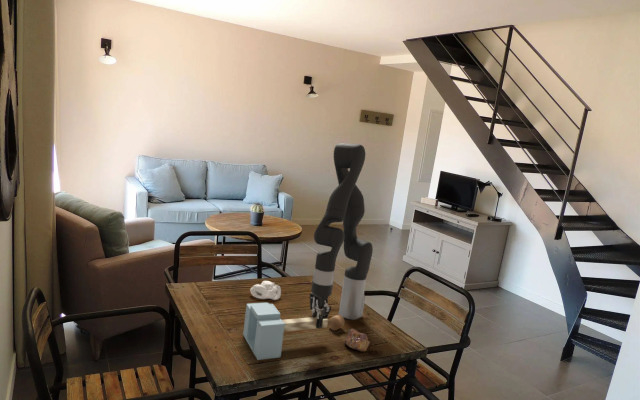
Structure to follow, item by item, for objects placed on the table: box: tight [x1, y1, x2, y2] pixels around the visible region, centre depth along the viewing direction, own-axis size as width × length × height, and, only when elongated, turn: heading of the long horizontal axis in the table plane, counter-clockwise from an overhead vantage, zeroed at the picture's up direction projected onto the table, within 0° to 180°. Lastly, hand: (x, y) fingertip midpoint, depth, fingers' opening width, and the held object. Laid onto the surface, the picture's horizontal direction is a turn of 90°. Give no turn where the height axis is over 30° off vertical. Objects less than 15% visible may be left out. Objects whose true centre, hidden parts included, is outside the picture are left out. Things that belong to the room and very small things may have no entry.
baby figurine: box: [249, 280, 282, 301], centre depth 197 cm, size 9×13×9 cm
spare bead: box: [327, 314, 345, 331], centre depth 175 cm, size 4×5×5 cm
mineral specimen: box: [343, 327, 370, 352], centre depth 163 cm, size 12×8×7 cm
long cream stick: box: [281, 317, 329, 333], centre depth 159 cm, size 22×3×3 cm, turn 116°
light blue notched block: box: [242, 302, 285, 361], centre depth 153 cm, size 8×17×14 cm, turn 26°
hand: (316, 325), depth 163 cm, fingers closed on long cream stick, 3 cm apart
